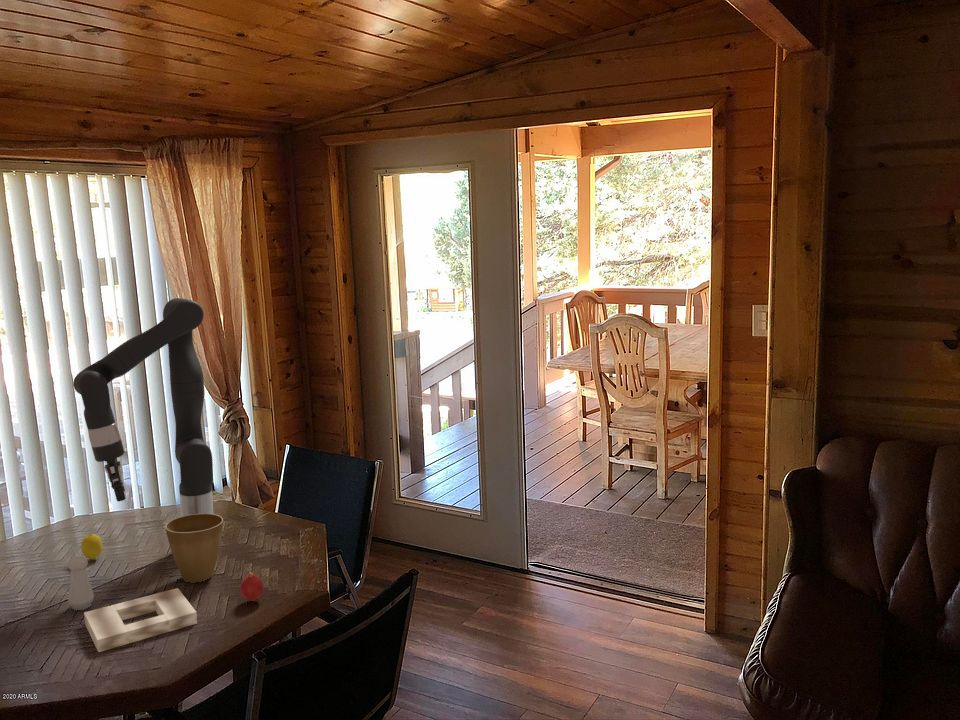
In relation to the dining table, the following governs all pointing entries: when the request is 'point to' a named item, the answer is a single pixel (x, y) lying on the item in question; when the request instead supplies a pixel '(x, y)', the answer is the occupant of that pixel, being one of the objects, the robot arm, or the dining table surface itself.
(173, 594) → the hole board
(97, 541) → the lemon
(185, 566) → the plant pot
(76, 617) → the dining table surface
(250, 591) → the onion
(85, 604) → the salt shaker
